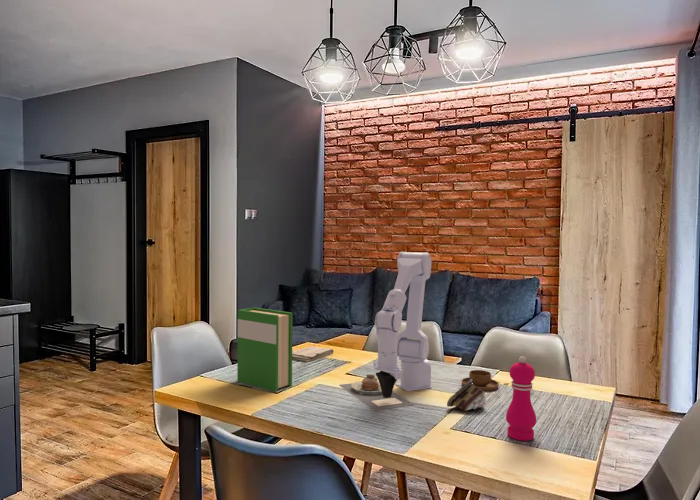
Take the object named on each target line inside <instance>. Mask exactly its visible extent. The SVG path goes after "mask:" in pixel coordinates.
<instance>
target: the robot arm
mask: <svg viewBox="0 0 700 500" xmlns="http://www.w3.org/2000/svg"><path fill="white" fill-rule="evenodd" d="M396 259H397V260H396V262H397V263H396V265H397V269H398V272H397V276H396V277H397V278H396V280H395V283H394V287H393V289H391V290H389V292H388V293H387V296H386V299H385V301H384V304H383V307H382V308H381V310H380V311H378V312H376V315H375V318H374V327H375V330H376V336H377V337H378V338H377V359H376V360H373V363H372V364H373V365H372V366H373V369H374V370H375V371H379V372H376V373H375V376H376V379H377V381H379V383H380V386H381V390H382V395H383V397H384V398H389V397H391V395H392V391H393V392H394V388H395V385H396V386H397V387H398V388H400V389H402V390H405V391H406V392H411V391H419V390H426V389H427V390H428V389H432V388H433V386H432V365H431V363H430V361H429V360H428V357H429V355H430V345H429V336H427V334H425V333H424V332H423V331H422V320H423V310H424V301H425V300H424V298H425V289H426V288H425V287H426V281H427V280H429V279H430V277H431V274H432V258H431V255H430V253H429V252H428V251H427V252H425V251H424V252H416V251H415V252H412V251H411V252H410V251H408V252H407V251H400V253H399V254H398V255H397V258H396ZM408 288H409V290H408ZM407 290H408V291H409V293H408V298H407V295H406V292H407ZM407 299H408V301H407ZM406 301H407V303H408V304H407V313H406V323H405V329H404V330H403V331H401V332H400V333H398V331H399V330H400V328H401V326H402V319H403V313H402V312H403V309H404V307H405V304H406ZM408 338H409V339H408ZM398 360H399V361H400V368H399V366H398ZM397 380H400V382H397Z"/></svg>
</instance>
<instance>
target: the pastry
mask: <svg viewBox="0 0 700 500" xmlns="http://www.w3.org/2000/svg"><path fill="white" fill-rule="evenodd" d="M352 383H353V384H352V385H351V387H352V388H353V389H355V390H357V392H359V393H361V394H369V395H378V394H382V390H381V386H380V383H379V380H378V378H377V377H375V375H374V374H366V377H363V379H362V380H359V381H355V382H352Z"/></svg>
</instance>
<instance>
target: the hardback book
mask: <svg viewBox="0 0 700 500" xmlns="http://www.w3.org/2000/svg"><path fill="white" fill-rule="evenodd" d="M293 323H294V322H293V312H289V311H283V310H276V309H267V308H263V307H262V308H259V307H250V308H241V309H237V369H236V371H237V373H236V374H237V376H236V378H237V379H236V381H237V382H240V383H244V384H247V385H251V386H253V387H257V388H262V389H265V390H269V391H272V392H279V389H280V388H284V387H289V388H290V387H292V386H293V359H292V351H293V326H294V325H293Z"/></svg>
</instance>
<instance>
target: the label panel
mask: <svg viewBox="0 0 700 500" xmlns="http://www.w3.org/2000/svg"><path fill="white" fill-rule="evenodd" d="M353 383H354V382H351V383H342V384H339V387H341V388H343V389H344V390H345V391H347V392H348V393H349V394H351V395H352V396H353V397H355V398H357V399H358V400H359V401H361V402H362V403H364V404H365V405H366V406H368V407H369V408H371V409H373V411H380V410H381V411H382V410H388V409H389V410H390V409H396V408H402V407H408V406H415V403H413V402H411V401H409V400H408V399H406V398H405V397H403V396H401V395H400V394H397V393H396V392H394V390H393V391H392V395H391V397H389V398H384V397H383V395H382V394H378V395H369V394H361V393H359V392H357V390H355V389H353V388H352V387H351V385H352V384H353Z"/></svg>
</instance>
